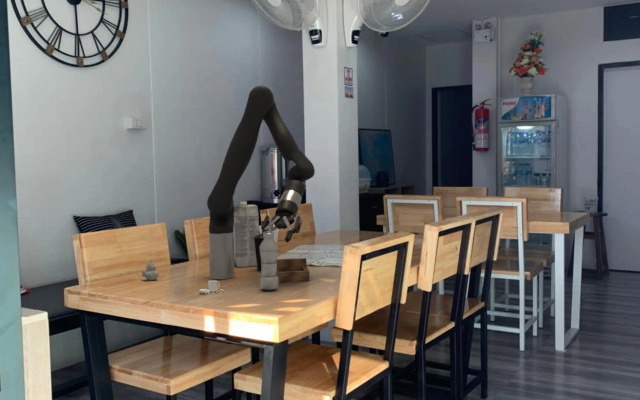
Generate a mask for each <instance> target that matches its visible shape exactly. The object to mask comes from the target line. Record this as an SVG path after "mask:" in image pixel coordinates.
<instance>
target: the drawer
mask: <svg viewBox="0 0 640 400" xmlns="http://www.w3.org/2000/svg"><path fill="white" fill-rule="evenodd" d="M277 273H278V278H279V283H296V282H297V283H298V282H310V270H309V268H308V267H307V258H305V257H300V258H277Z"/></svg>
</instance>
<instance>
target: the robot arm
mask: <svg viewBox="0 0 640 400" xmlns="http://www.w3.org/2000/svg"><path fill="white" fill-rule="evenodd" d="M241 117H242V118H241V119H240V122H239V124H238V126H237V128H236V130H235V131H234V134H233V137H232V139H231V141H230V144H229V145H228V148H227V151H226V154H225V156H224V159H223V163H222V166H221V169H220V172H219V173H220V174H219V175H218V177H217V178H218V179H217V181H216V182H215V184H214V186H213V188H212V190H211V192H210V194H209V195H208V197H207V201H206V205H207V209H208V211H209V223H208V239H209V240H208V241H209V247H208V248H209V253H208V256H209V257H208V260H209V261H208V263H209V264H208V265H209V266H208V267H209V279H211V280H213V279H214V280H227V279H232V278H235V272H236V271H235V264H234V233H233V227H234V205H235V202H234V195H235V191H236V188H237V186H238V184H239V182H240V180H241V178H242V176H243V175H244V173H245V171H246V170H247V167H248V166H249V164H250V161H251V160H252V156H253V154H254V151H255V149H256V145H257V142H258V138H259V133H260V128H261V125H262V123H263V121H264V123H265V124H266V126H267V129H268V130H269V133H270V134H271V137H272V139H273V141H274V143H275V146H276V147H277V149H278V152H279V153H280V155H281V156H282V159H283V160H284V161H286V162H290V161H292V162H293V163H294V164H295V165H293V166H291V167H290V169H289V170H288V172H287V176H286V186H285V188H284V191H283V194H282V195H281V196H280V199H279V202H278V204H277V207H276V210H275V212H274V213H275V214H274V215H273V216H272V217H271V216H269V215H266V216H265V217H264V219H263V220H262V221H263V223H262V222H261V225H260V226H261V229H262V231H263V232H272V231H275V230H276V229H277V228H278V229H279V230H280V229H282V230H286V229H287V232H286V234H285V237H284V241H285V243H287V244H288V243H289V242H290V241H291V240H292V237H293V235H294V234H299V233H300V230H301V226H302V223H303V219H302V217H301V216H300V215H298V211H299V209H300V206H301V203H302V199H303V196H304V194H305V189H306V188H305V185H304V183H305V182H306V181H308V180H310V179H311V178H313V177H314V176H315V173H316V171H315V166H314V164H313V163H312V161H311V160H310V159H309V158H308V157H307V156H306V155H305V153H304V152H303V151H302V150H301V149H300V147H299V146H298V144H297V142H296V140H295V139H294V136H293V135H292V133H291V131H290V130H289V129H288V127H287V125H286V124H285V122H284V120H283V118H282V116H281V114H280V113H279V111H278V108H277V105H276V101H275V96H274V94H273V91H272V90H271V89H270V88H269V87H268V86H266V85H263V84H262V85H256V86H254V87H253V88H252V89H251V90H250V92H249V94H248V98H247V102H246V105H245V107H244V112H243V114H242V116H241ZM292 224H294V225H293V227H292ZM273 225H275V227H273ZM270 228H271V229H270ZM262 238H263V236H262ZM263 240H264V238H263Z"/></svg>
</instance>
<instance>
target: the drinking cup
mask: <svg viewBox="0 0 640 400" xmlns="http://www.w3.org/2000/svg"><path fill="white" fill-rule="evenodd" d="M263 221H264V220H261V224H262V223H263ZM262 236H263V231H262V234H260V233H259V234H258V235H256V236H254V237H253V238H254V242H255V252H256V261H257V266H256V267H257V268H256V269H257V271H258V272H261V256H260V245H261V243H262V241H263V238H262Z"/></svg>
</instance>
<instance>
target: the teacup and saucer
mask: <svg viewBox="0 0 640 400" xmlns="http://www.w3.org/2000/svg"><path fill="white" fill-rule="evenodd" d="M220 286H221V283H220V281H217V279H214V280H213V279H211V280H208V281H207V287H208V289H206V288H200V289H199V290H198V292H199V294H203V293H205V294H204V295H208V294H211V293H216V292H217V291H218V290H217V289H220V288H219V287H220ZM220 290H223V291H224V292H225V290H224V289H222V288H221V289H220ZM215 291H216V292H215ZM220 292H221V291H220ZM207 293H208V294H207ZM220 294H223V293H222V292H221V293H220Z"/></svg>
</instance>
